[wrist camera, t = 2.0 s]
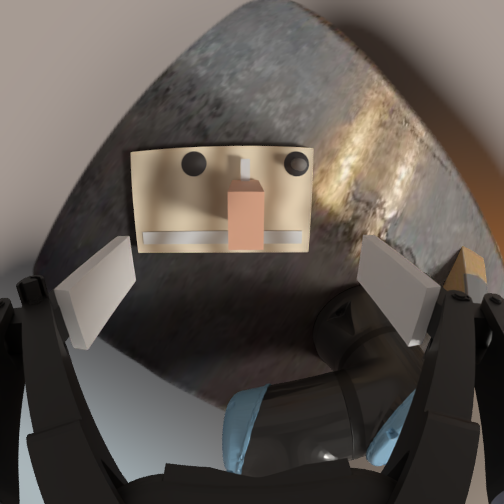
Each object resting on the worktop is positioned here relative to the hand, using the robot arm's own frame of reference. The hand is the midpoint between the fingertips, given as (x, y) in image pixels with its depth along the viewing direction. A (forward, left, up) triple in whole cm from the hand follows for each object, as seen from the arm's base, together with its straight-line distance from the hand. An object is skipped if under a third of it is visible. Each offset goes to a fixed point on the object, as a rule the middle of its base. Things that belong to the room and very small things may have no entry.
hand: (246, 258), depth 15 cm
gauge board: (+3, 0, -21) cm, 21 cm away
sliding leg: (0, -1, -19) cm, 19 cm away
